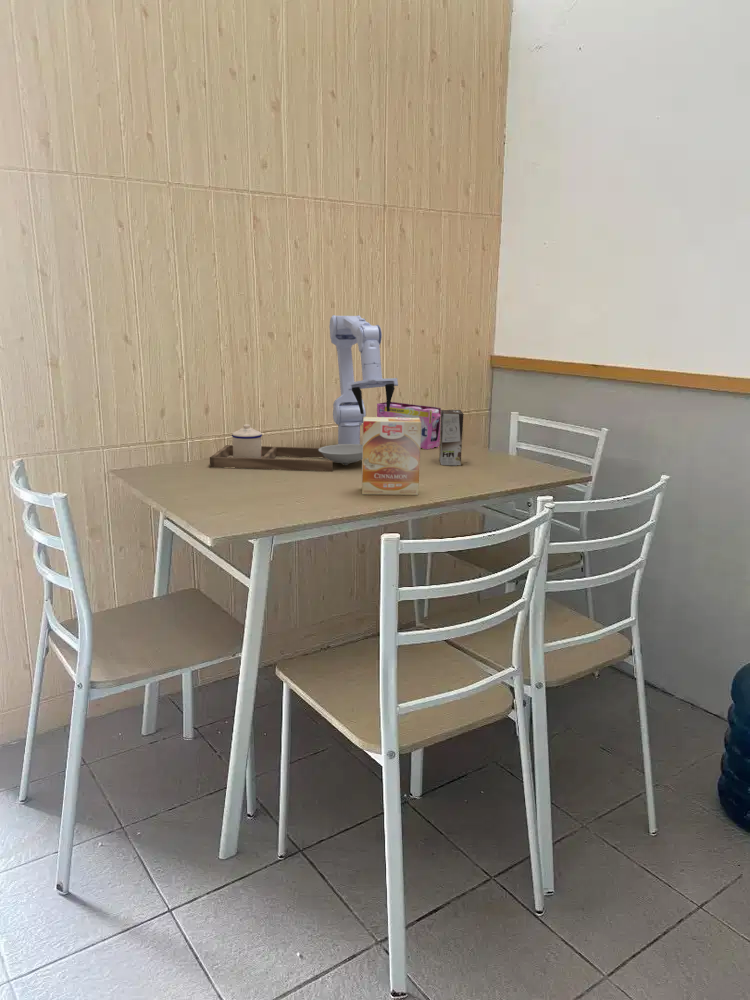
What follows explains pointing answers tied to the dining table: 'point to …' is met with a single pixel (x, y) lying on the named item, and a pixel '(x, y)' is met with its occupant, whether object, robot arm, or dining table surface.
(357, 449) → the dish
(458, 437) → the coffee box
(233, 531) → the dining table surface
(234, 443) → the teacup with lid
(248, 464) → the caddy
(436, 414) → the gum box
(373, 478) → the coffeecake box
